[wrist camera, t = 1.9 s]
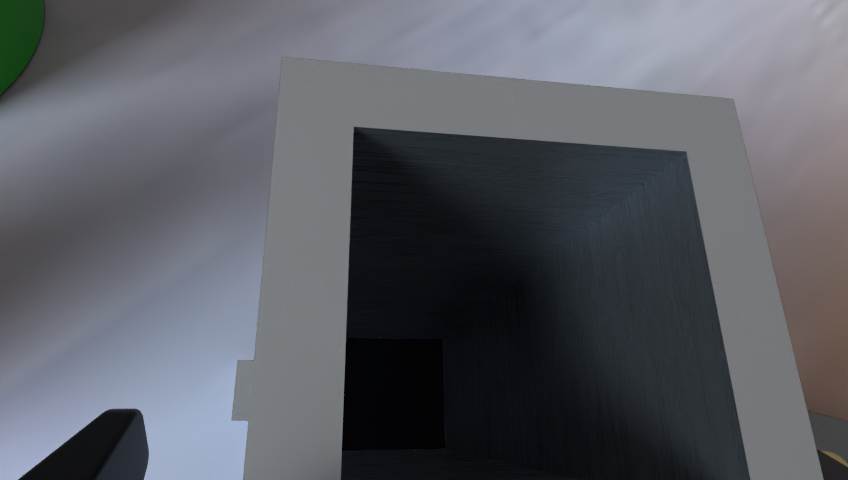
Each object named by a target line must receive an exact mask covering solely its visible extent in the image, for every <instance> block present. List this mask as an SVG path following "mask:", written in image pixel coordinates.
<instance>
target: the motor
mask: <svg viewBox="0 0 848 480" xmlns="http://www.w3.org/2000/svg"><path fill="white" fill-rule="evenodd" d="M43 24H44V0H0V94H1V93H3V92H4V91H5V90H6V89H7V88H8V87H9V86H10V85H11V84H12V83H13V82H14V81H15V79H16V78H17V77H18V76H19V75H20V73H21V72H22V71H23V69H24V68H25V67H26V65H27V64H28V62H29V60H30V59H31V57H32V55H33V53H34V51H35V49H36V47H37V45H38V42H39V40H40V36H41V33H42V29H43Z"/></svg>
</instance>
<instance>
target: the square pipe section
mask: <svg viewBox="0 0 848 480" xmlns="http://www.w3.org/2000/svg"><path fill="white" fill-rule="evenodd" d="M346 338H393V339H443V382H444V426H445V449H411V450H362V451H342V432H343V405H344V378H345V351H346ZM232 420H237V421H248V432H247V443H246V454H245V465H244V475H243V480H824V479H823V475H822V471H821V466H820V462H819V458H818V454H817V450H816V445H815V441H814V437H813V433H812V428H811V424H810V420H809V416H808V412H807V407H806V403H805V399H804V395H803V390H802V386H801V382H800V378H799V374H798V369H797V365H796V361H795V357H794V353H793V348H792V344H791V340H790V336H789V331H788V327H787V323H786V319H785V315H784V310H783V306H782V302H781V298H780V293H779V289H778V285H777V281H776V277H775V272H774V268H773V264H772V260H771V255H770V251H769V247H768V243H767V239H766V234H765V230H764V226H763V222H762V217H761V213H760V209H759V205H758V201H757V196H756V192H755V188H754V184H753V179H752V175H751V171H750V167H749V163H748V158H747V154H746V150H745V146H744V142H743V137H742V133H741V129H740V125H739V120H738V116H737V112H736V108H735V104H734V99H729V98H719V97H708V96H697V95H686V94H676V93H665V92H654V91H643V90H633V89H622V88H611V87H600V86H590V85H579V84H568V83H557V82H547V81H536V80H525V79H514V78H504V77H493V76H482V75H471V74H461V73H450V72H439V71H429V70H418V69H407V68H396V67H386V66H375V65H364V64H353V63H343V62H332V61H321V60H310V59H300V58H289V57H282V63H281V74H280V85H279V95H278V106H277V117H276V128H275V139H274V150H273V161H272V171H271V182H270V193H269V204H268V215H267V226H266V237H265V247H264V258H263V269H262V280H261V291H260V302H259V313H258V323H257V334H256V345H255V356H254V360H238V361H237V371H236V381H235V391H234V401H233V410H232Z"/></svg>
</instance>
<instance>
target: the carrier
mask: <svg viewBox="0 0 848 480" xmlns="http://www.w3.org/2000/svg"><path fill="white" fill-rule="evenodd" d="M807 412H808V416H809V420H810V424H811V428H812V433H813V437H814V441H815V445H816V448H817V449H818V450H820V451H822V452H824V453H825V454H827V455H829V456H830V457H832V458H834V459H835V460H837V461H839V462H840V463H842V464H844V465H845V466H847V467H848V422H846V421H844V420H841V419H838V418H834V417H830V416H826V415H822V414H818V413H814V412H810V411H807Z"/></svg>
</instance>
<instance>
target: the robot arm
mask: <svg viewBox="0 0 848 480" xmlns="http://www.w3.org/2000/svg"><path fill="white" fill-rule="evenodd" d="M816 450H817V454H818V458H819V462H820V466H821V471H822V475H823V479H824V480H848V467H847V466H845V465H844V464H842V463H840V462H839V461H837V460H835V459H834V458H832V457H830V456H829V455H827V454H825V453H824V452H822V451H820V450H818V449H817V448H816ZM148 457H149V449H148V443H147V437H146V432H145V426H144V420H143V415H142V413H141V412H140V410H138V409H110V410H107V411H105V412H104V413H102V414H101V415H100V416H98V417H97V418H96V419H94V420H93V421H92V422H91V423H89V424H88V425H87V426H86V427H84V428H83V429H82V430H81V431H79V432H78V433H77V434H75V435H74V436H73V437H72V438H70V439H69V440H68V441H67V442H65V443H64V444H63V445H61V446H60V447H59V448H58V449H56V450H55V451H54V452H53V453H51V454H50V455H49V456H48V457H46V458H45V459H44V460H42V461H41V462H40V463H39V464H37V465H36V466H35V467H34V468H32V469H31V470H30V471H28V472H27V473H26V474H25V475H23V476H22V477H21V478H20V479H18V480H144V476H145V473H146V469H147V465H148Z"/></svg>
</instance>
